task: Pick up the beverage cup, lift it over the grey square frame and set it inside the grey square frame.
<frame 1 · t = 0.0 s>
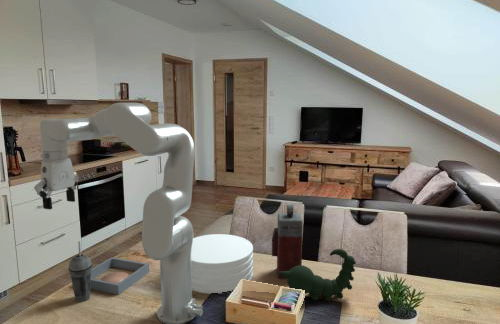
hand: (59, 204, 124), 31 cm above the table, tool pointing down, fingers open, 9 cm apart
grey square frame: (115, 278, 137), on the table
toy figurine: (315, 297, 124), on the table
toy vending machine: (285, 273, 141), on the table
plate stack: (217, 275, 140), on the table
beverage cup: (83, 298, 123), on the table
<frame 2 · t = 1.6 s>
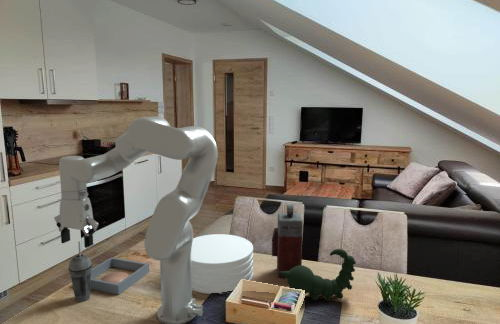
hand: (77, 244, 120), 20 cm above the table, tool pointing down, fingers open, 9 cm apart
nothing on the table moved.
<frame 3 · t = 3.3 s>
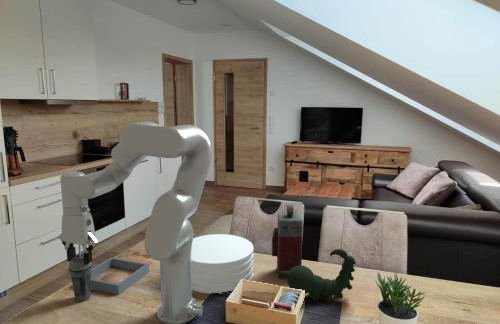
hand: (79, 260, 121), 14 cm above the table, tool pointing down, fingers closed on beverage cup, 6 cm apart
beverage cup: (83, 298, 123), on the table, touching gripper
everything else where it was.
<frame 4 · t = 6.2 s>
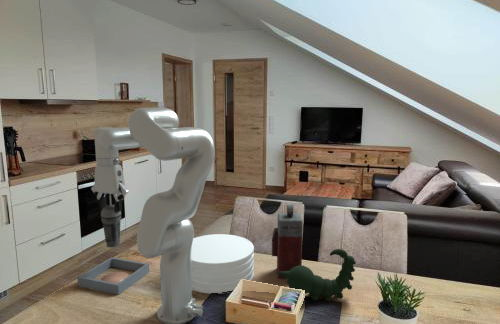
hand: (110, 209, 132), 27 cm above the table, tool pointing down, fingers closed on beverage cup, 6 cm apart
beverage cup: (113, 245, 134), point 13 cm above the table, touching gripper
everything else where it was.
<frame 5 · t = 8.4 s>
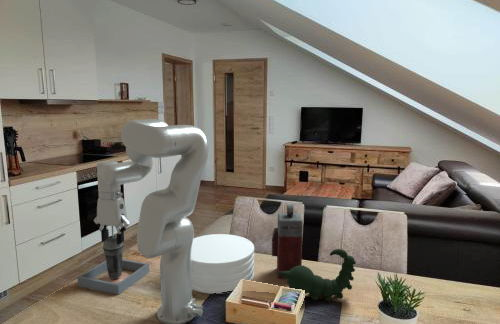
hand: (112, 241, 134), 15 cm above the table, tool pointing down, fingers closed on beverage cup, 6 cm apart
beverage cup: (115, 276, 136), point 1 cm above the table, touching gripper
everything else where it was.
when the fingers open (15 cm above the table, at t = 9.3 s): beverage cup stays where it is, resting on grey square frame.
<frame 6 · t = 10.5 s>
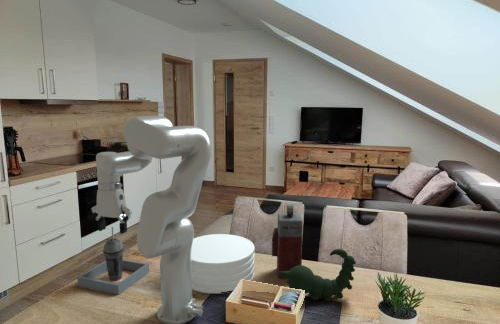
hand: (112, 231, 133), 19 cm above the table, tool pointing down, fingers open, 9 cm apart
beverage cup: (115, 278, 136), resting on grey square frame
everything else where it was.
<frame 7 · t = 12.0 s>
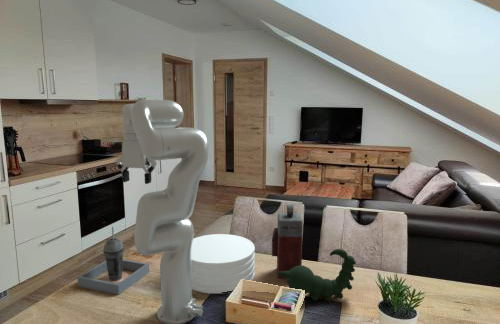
hand: (137, 182, 137), 36 cm above the table, tool pointing down, fingers open, 9 cm apart
nothing on the table moved.
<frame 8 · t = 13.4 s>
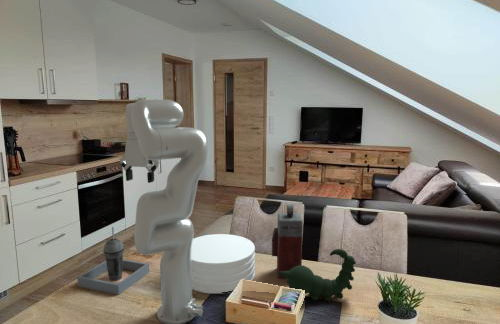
hand: (140, 181, 138), 36 cm above the table, tool pointing down, fingers open, 9 cm apart
nothing on the table moved.
at the end: beverage cup inside the target area on the grey square frame (0.3 cm from its centre), point 0.1 cm above the grey square frame's base; beverage cup tilted 0°; the gripper is holding nothing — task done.
